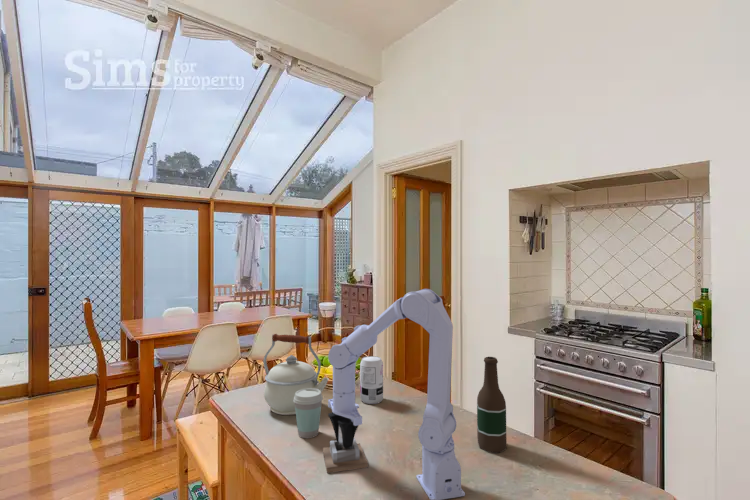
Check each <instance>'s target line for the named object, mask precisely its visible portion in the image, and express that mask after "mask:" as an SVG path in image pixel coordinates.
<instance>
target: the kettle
mask: <svg viewBox="0 0 750 500" xmlns="http://www.w3.org/2000/svg"><path fill="white" fill-rule="evenodd" d="M271 338H272V339H271V342H272V343H271V346H270V348H269V349H268V350H267V351H266V353H265V355H264V357H263V362H262V363H263V367H264V371H265V374H266V375H265V382H266V383H265V386H264V389H263V397H264V399H265V402H266V403H267V404H268V405H269V406H270V407H269V408H270V411H272V412H273V413H274V414H276V415H280V416H281V415H283V416H285V415H286V416H291V415H296V410H295V402H294V401H293V400H294V396H295V393H296V392H297V391H299V390H302V389H308V388H313V389H318V390H320V391H321V393H322V392H323V391H324V389H325V387H326V386H327V383H328V382H329V381H330V379H329V378H328V377H323V378H322V380H321V381H319V380H318V377H319V376H320V372H321V369H322V367H321V365H322V364H321V360H320V358H319V356H318V354H317V353H316V352H315V351H314V349H313V347H312V336H311V335H310V336H309V335H307V336H302V335H298V334H297V335H295V334H277V333H273V334H272V336H271ZM277 341H278V342H283V343H291V344H293V343H294V344H304V343H305V344H307V345H308V349H309V351H310V353H311V354H312V356H313V357H314V358H315V360H316V362H317V366H318V367H317V371H315V370H314V368H313V367H312V365H311V364H309V363H306V362H304V361H301V360H300V361H299V360H298V358H297V357H296V356H295V355H293V354H290V355H289V356H288V357H286V359H285V361H284V362H280V363H278V364H276V365H274V366H273V367H272V368H270V370H269V367H268V364H267V357H268V355H269V353H270V352H271V351H272V350H273V348H274V347H275V344H276V342H277Z"/></svg>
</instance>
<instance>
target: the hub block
mask: <svg viewBox="0 0 750 500" xmlns="http://www.w3.org/2000/svg"><path fill="white" fill-rule="evenodd" d="M322 455H323V460H324V464H325V465H324V466H325V469H326V470H325V471H326V473H327V474H328V473H336V472H344V471H351V470H359V469H364V468H368V464H369V462H368V459H367V458H366V455H365V453H364V451H363V448H362V446H361V443H357V441H356V438H355V437H354V440H353V444H352V446H351V449H348V450H340V451H338V442H337V440H336V439H335V440H330V441H329V446H327V447H326V446H325V447H322Z"/></svg>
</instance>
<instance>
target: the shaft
mask: <svg viewBox="0 0 750 500" xmlns="http://www.w3.org/2000/svg"><path fill="white" fill-rule="evenodd" d="M348 449H351V447H348V448H344V446H343V440H342V432H341V429H340V426H339V440H338V451H340V450H348Z"/></svg>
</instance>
